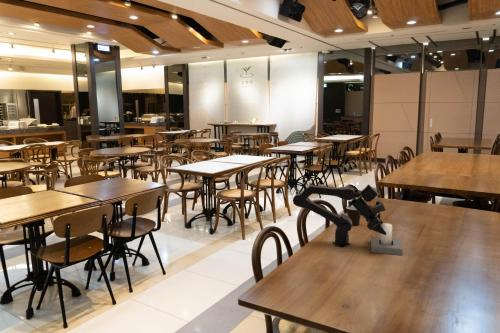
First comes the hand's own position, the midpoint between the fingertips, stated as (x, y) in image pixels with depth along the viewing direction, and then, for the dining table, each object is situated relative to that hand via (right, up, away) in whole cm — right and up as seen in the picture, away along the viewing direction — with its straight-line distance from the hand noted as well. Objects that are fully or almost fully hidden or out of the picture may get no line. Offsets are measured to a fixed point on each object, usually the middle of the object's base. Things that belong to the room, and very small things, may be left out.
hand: (385, 231), depth 183 cm
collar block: (+1, -9, +1) cm, 9 cm away
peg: (+1, -9, +1) cm, 9 cm away
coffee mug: (-4, -2, +40) cm, 40 cm away
